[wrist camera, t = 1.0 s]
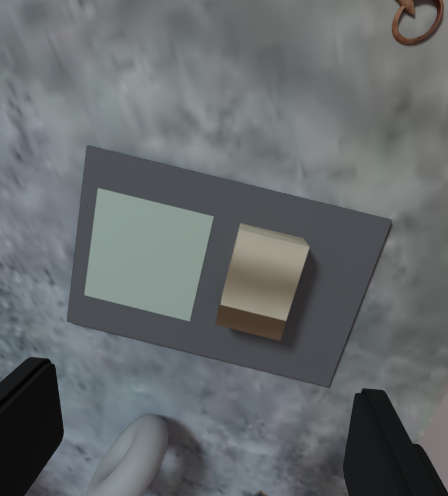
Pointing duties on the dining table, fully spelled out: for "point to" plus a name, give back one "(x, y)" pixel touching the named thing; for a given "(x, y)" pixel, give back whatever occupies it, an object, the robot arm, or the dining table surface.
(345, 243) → the mat
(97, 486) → the donut
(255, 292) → the wooden block
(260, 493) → the matchbox
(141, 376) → the dining table surface
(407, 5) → the key
